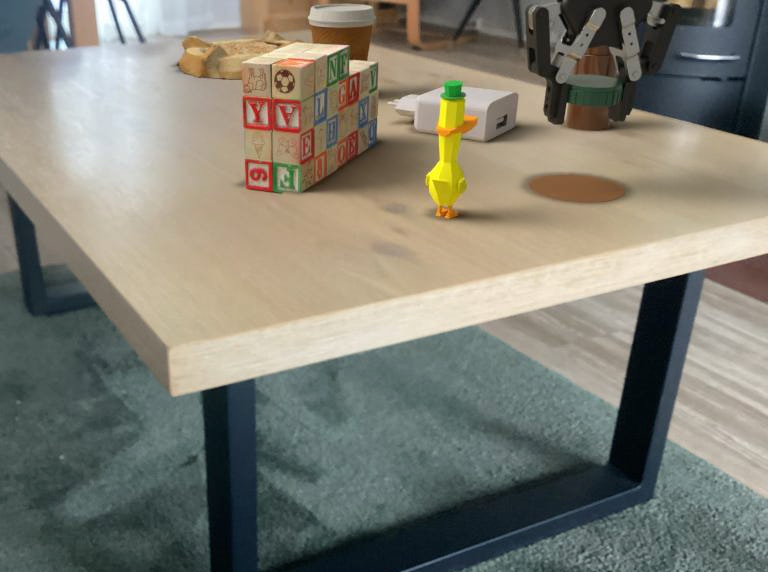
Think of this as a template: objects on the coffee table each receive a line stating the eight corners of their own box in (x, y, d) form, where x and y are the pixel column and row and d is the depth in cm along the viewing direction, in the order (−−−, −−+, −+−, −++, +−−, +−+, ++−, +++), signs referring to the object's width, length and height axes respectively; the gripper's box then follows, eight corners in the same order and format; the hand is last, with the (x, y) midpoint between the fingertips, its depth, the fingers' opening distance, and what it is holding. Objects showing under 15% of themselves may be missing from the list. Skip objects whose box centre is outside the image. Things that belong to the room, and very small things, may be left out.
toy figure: (448, 204, 81) (459, 72, 75) (482, 211, 79) (496, 76, 74) (411, 223, 77) (420, 84, 71) (447, 232, 75) (459, 89, 69)
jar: (609, 125, 108) (624, 37, 103) (607, 135, 104) (623, 44, 99) (566, 122, 110) (578, 35, 105) (563, 131, 105) (575, 42, 100)
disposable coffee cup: (300, 101, 122) (300, 10, 116) (315, 88, 130) (315, 2, 124) (367, 104, 120) (370, 12, 114) (377, 91, 128) (381, 4, 122)
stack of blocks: (327, 139, 103) (329, 29, 97) (377, 144, 101) (382, 32, 95) (244, 188, 86) (240, 59, 80) (301, 196, 84) (301, 64, 78)
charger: (407, 114, 114) (515, 129, 107) (372, 128, 108) (483, 145, 100) (409, 77, 112) (519, 90, 104) (373, 89, 105) (488, 103, 98)
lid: (547, 93, 83) (550, 75, 82) (603, 91, 83) (606, 73, 82) (572, 108, 78) (576, 88, 77) (631, 105, 78) (635, 86, 78)
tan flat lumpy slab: (323, 55, 156) (323, 26, 153) (305, 80, 135) (305, 47, 133) (195, 53, 159) (193, 24, 157) (158, 77, 138) (156, 45, 136)
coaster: (626, 183, 87) (627, 179, 86) (621, 210, 79) (622, 206, 79) (534, 174, 90) (535, 170, 89) (521, 200, 82) (522, 196, 82)
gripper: (673, -82, 77) (637, 110, 86) (519, -80, 76) (498, 115, 84) (721, -79, 71) (677, 128, 79) (555, -78, 69) (527, 134, 77)
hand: (585, 120), depth 81 cm, fingers closed on lid, 5 cm apart
